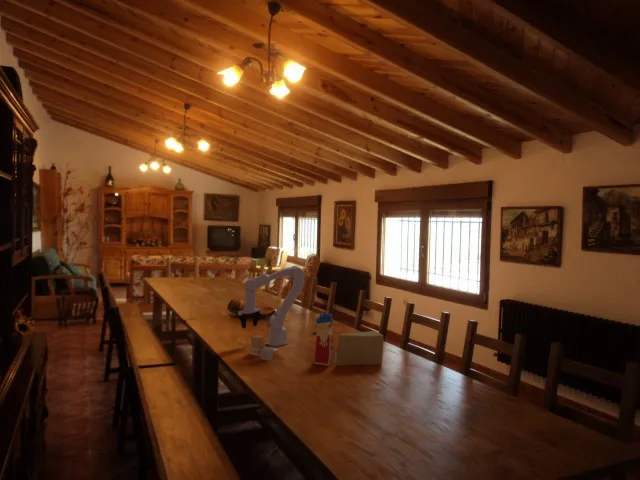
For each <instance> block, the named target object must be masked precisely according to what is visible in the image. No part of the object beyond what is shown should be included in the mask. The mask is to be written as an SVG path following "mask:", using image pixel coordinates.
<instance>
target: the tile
mask: <svg viewBox="0 0 640 480" xmlns="http://www.w3.org/2000/svg"><path fill="white" fill-rule="evenodd" d="M267 347H268V348H273V353H274V352H279V349H278V348H276V347H274V346H267Z"/></svg>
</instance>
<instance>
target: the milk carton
mask: <svg viewBox="0 0 640 480" xmlns="http://www.w3.org/2000/svg"><path fill="white" fill-rule="evenodd" d="M315 324H316V323H315ZM316 325H317V328H316V337H315V345H314V346H315V347H314V349H315V350H314V358H313V360H314V362H313V364H316V365H323V366H327V367H330V366H331V365H332V364H334V362H336V351H335V350H336V349H335V339H334V335H333V329H332V324H331V325H330V322H327V323H323V324H316Z"/></svg>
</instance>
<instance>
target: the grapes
mask: <svg viewBox="0 0 640 480" xmlns="http://www.w3.org/2000/svg"><path fill="white" fill-rule="evenodd" d="M327 322H330V325H331V326H332V324H333V322H334V319H333V314H331V313H329V312H328V311H325V312H324V313H320V314H319V316H318V317H317V318H316V319H315V324H314V327H315V328H316V329H317V325H316V324H323V323H327Z"/></svg>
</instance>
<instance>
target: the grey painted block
mask: <svg viewBox="0 0 640 480" xmlns="http://www.w3.org/2000/svg"><path fill="white" fill-rule="evenodd" d="M268 347H269V346H266V347H265V348H262V349H260V356H259V359H260V360H263V361H268V362H269V361H270V360H273V359H274V352H273V348H274V347H273V348H268Z"/></svg>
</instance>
